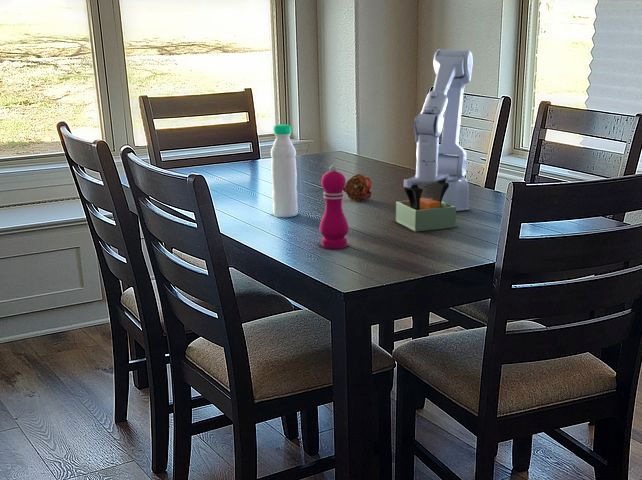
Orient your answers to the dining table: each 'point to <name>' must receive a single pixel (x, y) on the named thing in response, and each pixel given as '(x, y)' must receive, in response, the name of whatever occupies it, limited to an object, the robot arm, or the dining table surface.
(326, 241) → the pepper mill
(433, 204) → the orange rectangular block
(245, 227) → the dining table surface
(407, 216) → the open green box
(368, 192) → the brown rough oval
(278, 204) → the water bottle
